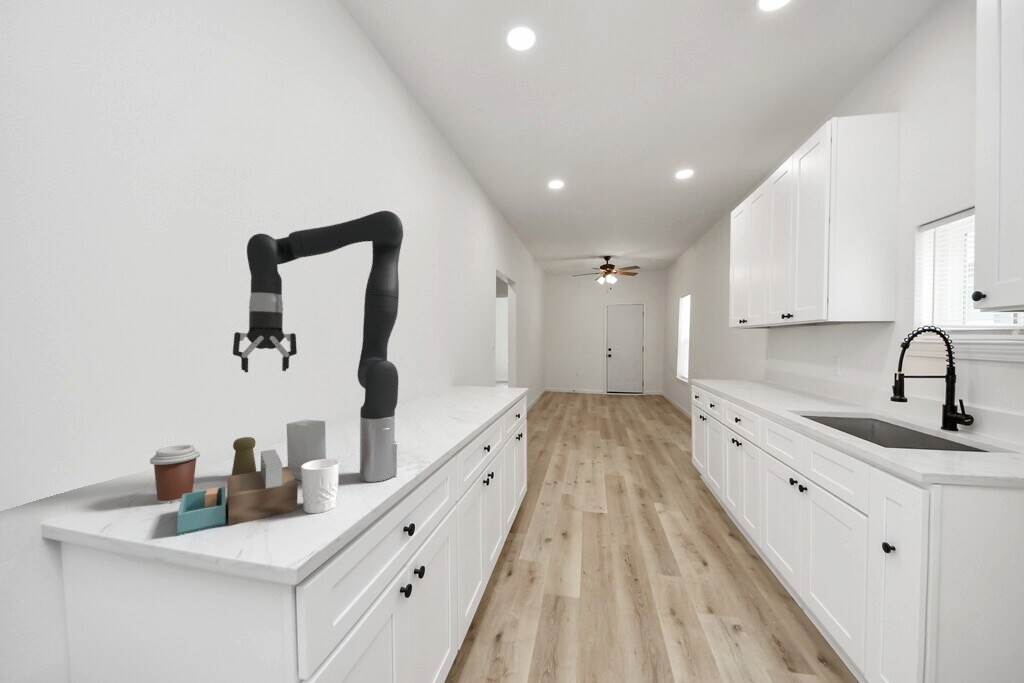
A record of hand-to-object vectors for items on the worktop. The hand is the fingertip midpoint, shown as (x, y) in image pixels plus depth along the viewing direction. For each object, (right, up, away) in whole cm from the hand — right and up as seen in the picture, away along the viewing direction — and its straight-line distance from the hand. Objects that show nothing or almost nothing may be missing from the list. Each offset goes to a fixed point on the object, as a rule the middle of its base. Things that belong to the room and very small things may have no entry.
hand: (265, 371), depth 102 cm
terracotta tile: (0, -28, -16) cm, 32 cm away
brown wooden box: (+8, -30, -14) cm, 34 cm away
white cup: (+22, -30, -14) cm, 40 cm away
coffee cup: (-16, -30, -10) cm, 35 cm away
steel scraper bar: (+9, -24, -12) cm, 29 cm away
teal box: (0, -30, -20) cm, 36 cm away
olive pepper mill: (-9, -30, +5) cm, 32 cm away
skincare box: (+8, -30, +6) cm, 32 cm away
